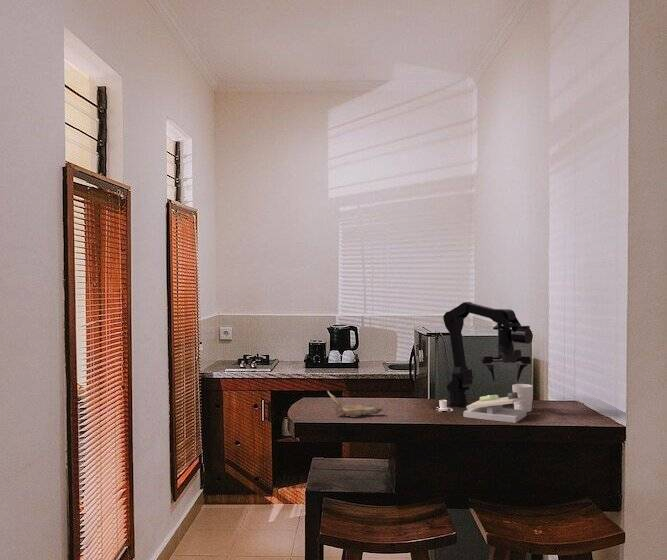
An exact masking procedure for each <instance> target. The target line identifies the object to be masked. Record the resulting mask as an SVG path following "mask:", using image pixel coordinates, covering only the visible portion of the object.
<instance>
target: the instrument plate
mask: <svg viewBox="0 0 667 560" xmlns="http://www.w3.org/2000/svg"><path fill="white" fill-rule="evenodd" d="M506 395H507V396H505V397H499V395H498V394H491V395H489V394H488V395H483V396H480V397H479V400H477V401H475V402H473V403H470V404H468V405H466V406H465V407H466V410H468V409H470V408H478V407H488V406H495V405H510V404H512V405H513V404H514V402H516V401H518V400H520V399H521V398H523V396H522V395H519V396H518V395H517V392H513V391H512V392H509V393H507V394H506Z"/></svg>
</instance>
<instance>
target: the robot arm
mask: <svg viewBox="0 0 667 560" xmlns="http://www.w3.org/2000/svg"><path fill="white" fill-rule="evenodd" d="M470 314H472V315H477V316H480V317H484V318H488V319H489V320H490V319H491V321H492V322H494V323H496V324H495V326H493V327H492V330H497V356H493V355H491V354H481V355H480V356H479V361H480V363H481V364H483V365H485V366H486V367H487V370H488V371H489V375H490V377H491V380H492V382H495V371H494V370H495V367H494V366H495V364H493V363H494V362H498V363H499V362H501V363H502V362H503V363H504V364H508V363H509V364H510V363H511V364H516V369H515V371H516V372H515V375H516V376H515V381H516V382H519V380H520V377H521V374H522V372H523V370H524V368H525V367H528V365H532V358H531V356H529V355H528V354H527V355H526V354H522V350H521V349H514V343H517V344H526V345H528V344H531V343H532V342H533V337H534V334H533V331H532V330H531V328H530V327H531V326H530V325H522V324H521V322H520V321H519V320H518V318H517V316H516V313H515V311H514V310H512V309H511V308H510V309H509V308H507V309H506V308H505V309H504V308H493V307H489V306H484V305H481V304H477V303H472V302H471V301H467V302H465V301H464V302H462V303H460V304H459V305H458V306H456V307H454V308H453V309H451V310H448V311H446V312H445V313H444V315H443V317H442V318H443V319H442V320H443V322H444V326H445V328H446V330H447V331H448V333H449V338H450V345H451V346H450V347H451V352H452V354H451V355H452V361H453V369H452V372H451V381H450V382H449V383H448V384H447V385H446V390H447V392H449V404H448V406H452V407H461V408H465V407H466V406H468V405H469V394H468V393H467V392H468V391H469V390H470V387H471V385H472V384H473V380H474V377H473V370H472V368H471V369H470V368H469V367H468V366H467V363H466V357H465V356H466V355H465V347H464V342H463V334H462V330H463V328H464V325H465V323H464V320H465V319H466V318H467V317H468V316H469V315H470Z"/></svg>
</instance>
